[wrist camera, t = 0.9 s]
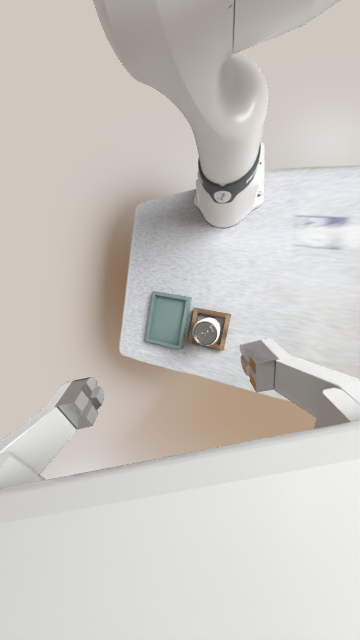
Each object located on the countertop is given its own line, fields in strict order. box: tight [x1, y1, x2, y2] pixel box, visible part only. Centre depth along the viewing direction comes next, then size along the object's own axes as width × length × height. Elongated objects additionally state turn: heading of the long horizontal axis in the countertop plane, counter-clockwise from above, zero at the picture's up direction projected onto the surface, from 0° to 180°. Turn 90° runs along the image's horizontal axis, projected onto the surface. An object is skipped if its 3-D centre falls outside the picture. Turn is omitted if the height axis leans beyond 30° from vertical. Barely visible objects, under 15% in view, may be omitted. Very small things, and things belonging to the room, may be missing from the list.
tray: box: [145, 291, 192, 350], centre depth 50 cm, size 16×12×2 cm
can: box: [193, 317, 220, 346], centre depth 43 cm, size 6×6×12 cm
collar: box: [188, 308, 231, 350], centre depth 47 cm, size 10×10×2 cm
